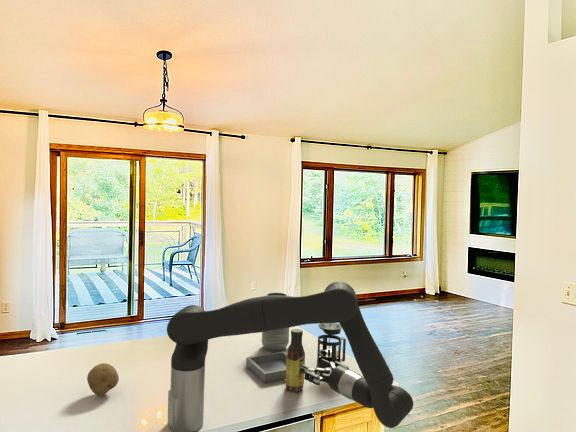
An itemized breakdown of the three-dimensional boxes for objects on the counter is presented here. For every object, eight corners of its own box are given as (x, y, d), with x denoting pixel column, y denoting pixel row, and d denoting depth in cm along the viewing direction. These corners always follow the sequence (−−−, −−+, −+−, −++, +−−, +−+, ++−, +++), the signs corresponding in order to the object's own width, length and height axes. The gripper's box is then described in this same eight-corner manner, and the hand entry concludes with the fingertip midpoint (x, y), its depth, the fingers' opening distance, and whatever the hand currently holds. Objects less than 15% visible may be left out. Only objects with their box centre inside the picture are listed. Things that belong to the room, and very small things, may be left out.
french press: (319, 375, 152) (322, 313, 151) (310, 365, 161) (313, 307, 160) (348, 373, 156) (351, 312, 155) (338, 363, 165) (341, 305, 164)
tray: (264, 383, 144) (264, 374, 144) (246, 366, 158) (246, 357, 158) (303, 375, 152) (304, 366, 152) (283, 359, 166) (283, 351, 166)
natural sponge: (109, 385, 139) (110, 356, 138) (123, 394, 133) (124, 363, 132) (82, 395, 132) (82, 364, 131) (95, 404, 126) (96, 372, 125)
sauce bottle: (301, 393, 138) (304, 334, 137) (283, 391, 139) (285, 332, 138) (305, 385, 145) (307, 328, 144) (287, 382, 146) (289, 326, 145)
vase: (257, 350, 175) (259, 296, 174) (266, 341, 186) (268, 290, 185) (283, 354, 172) (285, 299, 170) (291, 345, 183) (293, 293, 182)
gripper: (364, 365, 127) (327, 348, 140) (331, 376, 118) (294, 357, 131) (363, 389, 127) (326, 370, 140) (330, 402, 118) (293, 381, 131)
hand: (311, 364), depth 135 cm, fingers open, 8 cm apart
